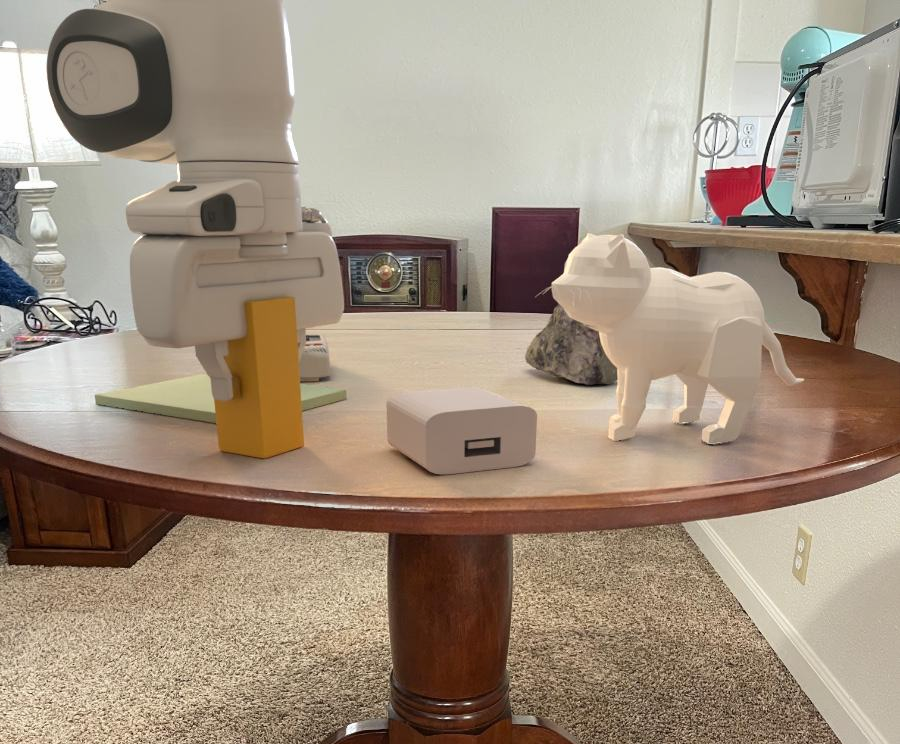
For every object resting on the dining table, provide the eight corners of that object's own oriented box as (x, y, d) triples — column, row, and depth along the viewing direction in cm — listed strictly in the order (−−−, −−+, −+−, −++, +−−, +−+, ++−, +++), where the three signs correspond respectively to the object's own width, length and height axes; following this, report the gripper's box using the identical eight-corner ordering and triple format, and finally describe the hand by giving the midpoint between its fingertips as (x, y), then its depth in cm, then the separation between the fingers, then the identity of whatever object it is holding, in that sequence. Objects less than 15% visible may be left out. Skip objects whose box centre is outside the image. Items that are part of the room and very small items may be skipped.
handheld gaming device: (253, 383, 102) (251, 349, 101) (257, 363, 115) (255, 333, 114) (331, 383, 104) (330, 349, 102) (325, 363, 117) (324, 333, 115)
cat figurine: (765, 415, 87) (792, 231, 80) (827, 440, 78) (863, 234, 71) (520, 426, 83) (526, 231, 76) (554, 453, 73) (565, 234, 66)
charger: (459, 425, 82) (535, 464, 70) (364, 434, 79) (426, 477, 67) (459, 374, 81) (537, 404, 68) (362, 380, 77) (425, 413, 65)
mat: (95, 404, 91) (94, 394, 91) (209, 381, 104) (208, 372, 103) (241, 427, 82) (240, 416, 81) (346, 398, 94) (346, 389, 94)
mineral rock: (521, 369, 112) (524, 285, 108) (606, 368, 113) (612, 285, 109) (535, 387, 101) (539, 294, 97) (628, 387, 101) (636, 294, 97)
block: (218, 450, 74) (203, 298, 69) (260, 438, 77) (247, 294, 73) (264, 459, 71) (251, 302, 66) (304, 446, 75) (295, 297, 70)
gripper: (299, 208, 77) (308, 371, 82) (104, 206, 60) (133, 409, 66) (358, 208, 74) (363, 377, 79) (170, 206, 58) (194, 419, 63)
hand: (257, 392), depth 72 cm, fingers open, 5 cm apart
